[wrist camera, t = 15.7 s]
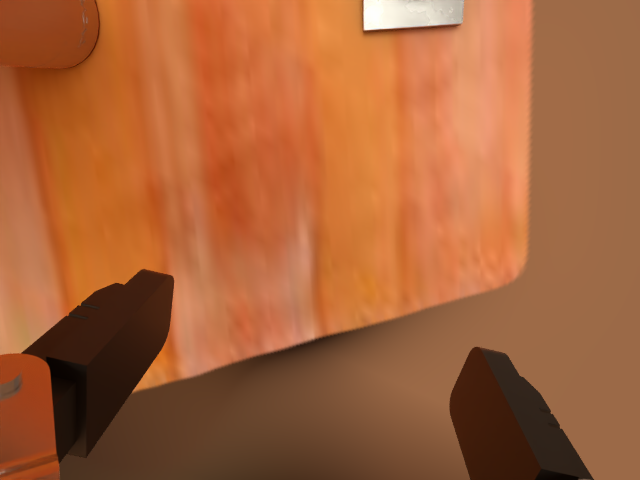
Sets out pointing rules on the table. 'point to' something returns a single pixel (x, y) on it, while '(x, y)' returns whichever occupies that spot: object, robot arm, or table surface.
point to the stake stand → (411, 14)
